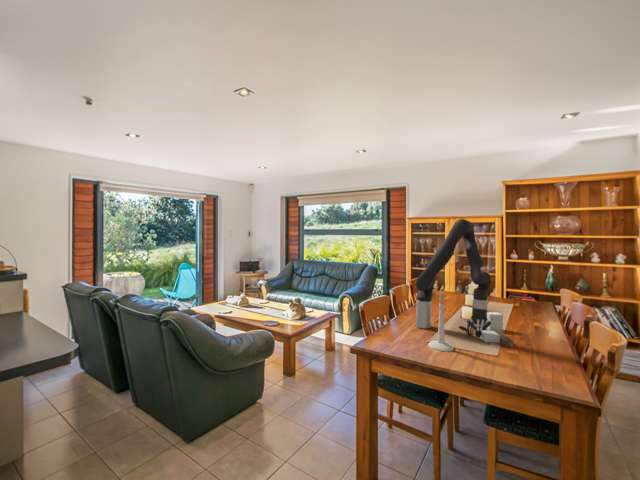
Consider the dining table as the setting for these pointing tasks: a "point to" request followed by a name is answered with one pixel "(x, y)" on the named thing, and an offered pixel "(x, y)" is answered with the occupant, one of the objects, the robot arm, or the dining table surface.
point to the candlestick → (441, 331)
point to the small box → (495, 320)
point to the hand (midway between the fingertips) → (478, 336)
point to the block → (490, 336)
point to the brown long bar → (504, 338)
